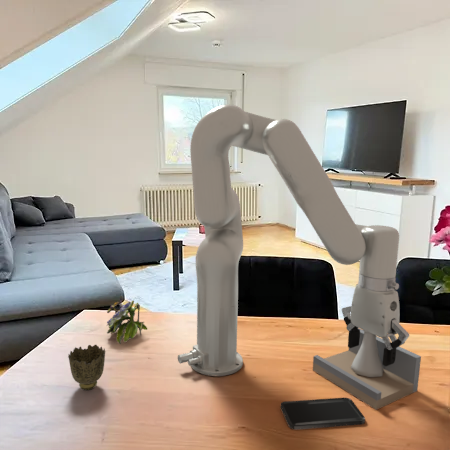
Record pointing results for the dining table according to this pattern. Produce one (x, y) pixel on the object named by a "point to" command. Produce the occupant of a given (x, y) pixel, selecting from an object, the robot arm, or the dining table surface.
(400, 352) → the wall shelf
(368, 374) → the flask
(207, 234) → the robot arm
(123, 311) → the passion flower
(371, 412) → the dining table surface
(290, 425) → the phone
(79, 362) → the cup
